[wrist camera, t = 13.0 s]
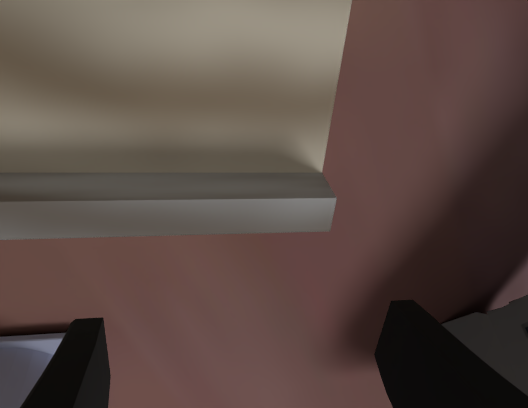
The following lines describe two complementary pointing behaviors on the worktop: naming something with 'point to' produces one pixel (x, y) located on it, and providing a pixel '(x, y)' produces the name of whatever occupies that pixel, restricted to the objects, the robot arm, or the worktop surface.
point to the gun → (498, 339)
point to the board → (166, 116)
